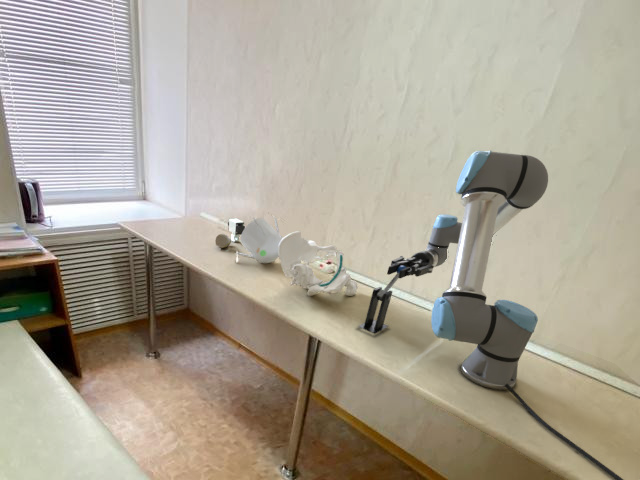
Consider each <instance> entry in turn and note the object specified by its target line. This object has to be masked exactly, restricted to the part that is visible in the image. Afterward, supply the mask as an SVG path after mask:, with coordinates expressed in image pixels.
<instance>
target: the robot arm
mask: <svg viewBox="0 0 640 480" xmlns="http://www.w3.org/2000/svg"><path fill="white" fill-rule="evenodd" d="M548 184H549V173H548V169H547V167H546V165H545V164H544V163H543V162H542V161H541V160H540V159H539V158H537V157H535V156H533V155H528V154H516V153H507V152H500V151H499V152H497V151H492V150H476V151H474V152H472V154H471V155H470V156H469V157H468V158H467V160H466V161H465V164H464V165H463V167H462V170H461V172H460V174H459V177H458V179H457V182H456V186H455V193H456V194H458V195H461V197H460V204H461V205H462V206H463V207H464V211H463V216H462V222H459V220H458V219H459V218H458V217H457V216H455V215H452V214H448V213H447V214H446V213H445V214H444V213H441V214H439V215H437V216H436V218H435V221H434V224H433V225H432V230H431V233H430V236H429V240H428V242H427V246H426V249H424V250H421V251H418V252H416V253H414V254H413V255H412V256H411V257H407V258H405V256H403V255H399V257H397V258H394V259H392V260H391V262H390V265H389V266H388V268H387V271H386V272H387V273H386V275H388V276H389V275H390V276H391V275H392V274H394V273H397V268H398V267H399V266H405V267H406V268H405V269H402V270H400V273H399V277H398V279H403V278H405V277H409V276H414V277H420V276H424V275H426V274H432V273H433V270H434V268H436V267H439V266H441V265H443V264H444V263H445V262H446V261H447V260H448V259H447V249H448V250H449V247H450V244H457V247H456V253H455V257H454V262H453V267H452V271H451V277H450V282H449V283H450V284H449V287H448V288H447V289H446V290H444V291H443V292H442V295H441V296H440V297H437V298H436V299H435V300H434V303H433V307H432V309H431V319H430V320H431V329H432V332H433V334H434V335H435V336H436V338H439V339H444V340H448V341H456V342H461V343H468V344H474V345H477V346H476V347H475V348H474V349H473V350H472V352H470V354H468V356H467V357H466V358H465V359H464V360H463V361H462V363H461V366H460V372H461V373H462V375H463V376H464V377H465V378H466V379H467V380H469V381H470V382H473V383H474V384H476V385H479V386H481V387H484V388H487V389H492V390H496V391H509V392H510V393H511V394H512V395H513V396H514V397H515V398H516V399H517V401H518V402H519V403H520V404H521V405H522V406H523V407H524V408H525V409H526V410H527V412H529V414H530V415H532V416H533V417H534V418H535V419H536V420H537V421H538V422H539V423H540V424H541V425H542V426H544V427H545V428H546V429H547V430H548V431H550V432H551V433H552V434H554V435H555V436H557V437H558V438H559V439H560V440H562V441H564V442H565V443H566V444H567V445H569V446H570V447H572V448H573V449H574V450H576V451H577V452H579V453H580V454H581V455H582V456H584V457H585V458H586V459H588V460H589V461H591V462H592V463H593V464H595V465H596V466H597V467H598V468H600V469H602V471H604V472H605V473H606V474H608V475H609V476H611V477H612V478H613V479H614V480H624V478H622V477H621V476H619V475H618V474H617V473H615V472H614V471H613V470H612V469H610V468H609V467H607V466H606V465H605V464H603V463H602V462H601V461H599V460H598V459H597V458H595V457H593V456H592V454H590V453H588V452H587V451H585V450H584V449H582V448H581V447H580V446H578V445H577V444H575V443H574V442H573V441H571V440H570V439H568V438H567V437H566V436H565V435H563V434H562V433H560V432H559V431H557V430H556V429H555V428H554V427H552V426H551V425H549V423H547V422H546V421H545V420H544V419H542V418H541V417H540V415H538V414H537V413H536V412H535V411H534V410H533V409H532V408H531V407H530V406H529V405H528V404H527V403H526V401H524V399H523V398H522V397H521V396H520V395H519V394H518V393H517V391H515V390H514V389H513V387H514V386H515V384H516V382H517V379H518V368H519V367H518V365H519V361H520V359H521V357H522V355H523V353H524V351H525V349H526V347H527V345H528V343H529V341H530V339H531V338H532V335H533V333H534V332H535V329H536V327H537V324H538V321H539V319H538V318H539V317H538V315H537V314H536V312H534V311H533V310H532V309H530V308H529V307H527V306H524V305H522V304H520V303H517V302H515V301H512V300H508V299H497V300H496V301H495V302H494V305H491V304H487V298H488V297H487V295H486V293H484V291H483V287H484V281H485V277H486V272H487V266H488V261H489V257H490V253H491V252H490V251H491V247H492V246H491V242H492V237H493V235H494V234H495V233H496V232H497V233H498V232H499V231H500V230H501V229H502V228H503V227H505V226H506V225H507V224H508V223H509V222H511V220H513V219H514V218H515V217H516V216H517V215H518V214H519V213H521V212H522V211H524V210H526V209H529V208H532V207H533V206H534V205H535V204H536V203H538V202H539V201H540V200H541V198H542V197H543V196H544V194H545V193H546V190H547V187H548ZM438 247H439V248H438ZM446 259H447V260H446ZM445 260H446V261H445Z"/></svg>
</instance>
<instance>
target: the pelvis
mask: <svg viewBox="0 0 640 480" xmlns="http://www.w3.org/2000/svg"><path fill="white" fill-rule="evenodd" d="M301 233H302V232H301V230H297V231H293V232H290V233H288V234H287V235H285V236H283V237H282V238H283V239H282V240H281V241H280V243H279V249H278V253H279V257H278V259H279V260H280V265H281V270H282V272H283V274H284V275H285V277H287V278H290V279H291V278H292V280H291V282H290V284H289V285H290V286H292V285H293V286H294V285H296V286H298V285H299V287H301V288H303V289H306V290H307V296H309V297H313V296H314V295H317V294H319V293H323V294H329V295H330V294H331V293H336V294H338V293H340V292H342V291H343V289H344V288H345V291H343V294H344V295H345V296H347V297H353V296H355V295H356V293H357V290H358V288H359V287H358V282H357V281H356V280H355V279H354V280H352V277H351V274H349V273H347V268H346V267H344V252H343V251H342V250H340V249H338V247H336V246H335V245H333V244H329V245H328V246H321V245H318V244H317V242H316V240H309V239H308V238H304V237H303V236H302V234H301ZM318 252H325V253H327V254H326V255H323V256H317V254H318ZM332 257H335V258H336V271H335V273H334V274H333V275H332V277H331V278H330V279H329V280H328V281H324V280H322V279H320V278H318V277H317V276H316V275H315V273H314V270H313V268H312V267H311V266H310V264H313V263H316V262H318V261H322V260H324V259H326V258H332ZM302 262H304V263H302Z"/></svg>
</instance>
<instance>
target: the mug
mask: <svg viewBox="0 0 640 480" xmlns="http://www.w3.org/2000/svg"><path fill="white" fill-rule="evenodd" d="M231 239H232V238H230V237H229V236H228V235H227V234H225V233H220V234H217V236H216V237H215V242H214V243H215V244H216V247H218V248H221V249H224V248H225V249H226V248H227V247H228V246H230V245H231V244H232V240H231Z"/></svg>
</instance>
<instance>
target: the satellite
mask: <svg viewBox="0 0 640 480" xmlns="http://www.w3.org/2000/svg"><path fill="white" fill-rule="evenodd" d="M267 214H268V215H270V216H272V217H273V218H274V224H275V228H274V227H273V226H272V225H271V224H270V223H269V222H268V221H267V220H266V219H265V218H262V217H258V218H255V217H253V218H252V219H253V220H252V221H250V222H249V223H248V224H247V225H246V226H245V229H244V230H243V232H242V234H241V235H240V237H239V242H240V244H241V246H243V247H244V249H245V250H247V252H248V253H249V254H246V253H243V252H239V251H238V250H236V252H235V254H236V258H235V263H239V261H240V256H243V257H246V258H250V259H254V260H256V261H257V262H259V263H261V264H270V263H273V262H275V261H276V260H277V259H279V253H278V249H279V243H280V241H281V240H282V239H283V238H284V237H282V235H281V234H280V230H279V226H278V225H279V224H278V222H279V223H280V224H282V225H286V220H285V219H283V218H281V217H280V218H279V217H277V216H275V215H273V214H272V213H270V212H267ZM275 229H276V230H275Z"/></svg>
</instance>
